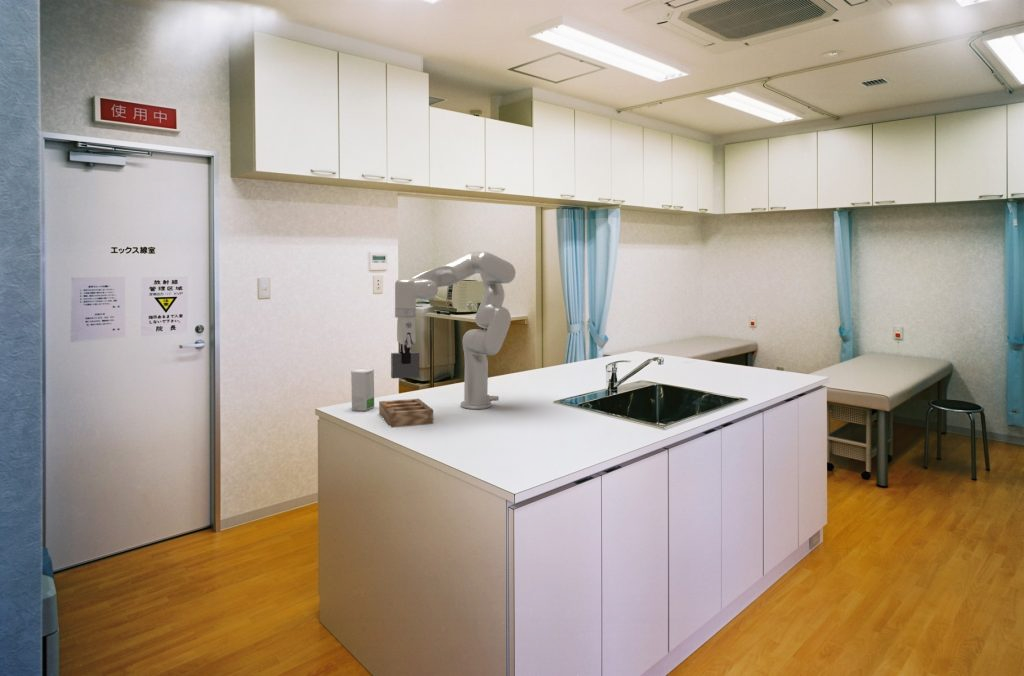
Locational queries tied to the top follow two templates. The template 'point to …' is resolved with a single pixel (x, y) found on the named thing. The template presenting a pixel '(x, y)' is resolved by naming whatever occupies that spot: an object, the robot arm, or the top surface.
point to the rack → (405, 412)
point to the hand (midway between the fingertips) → (405, 362)
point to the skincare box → (362, 389)
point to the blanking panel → (404, 366)
